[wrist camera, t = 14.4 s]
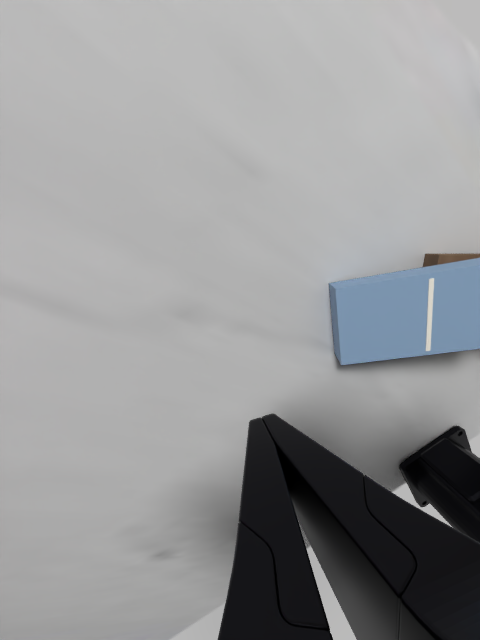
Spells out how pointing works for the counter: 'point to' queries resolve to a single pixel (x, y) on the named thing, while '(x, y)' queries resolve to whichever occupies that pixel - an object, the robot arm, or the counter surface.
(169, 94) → the counter surface
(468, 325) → the blue domino
